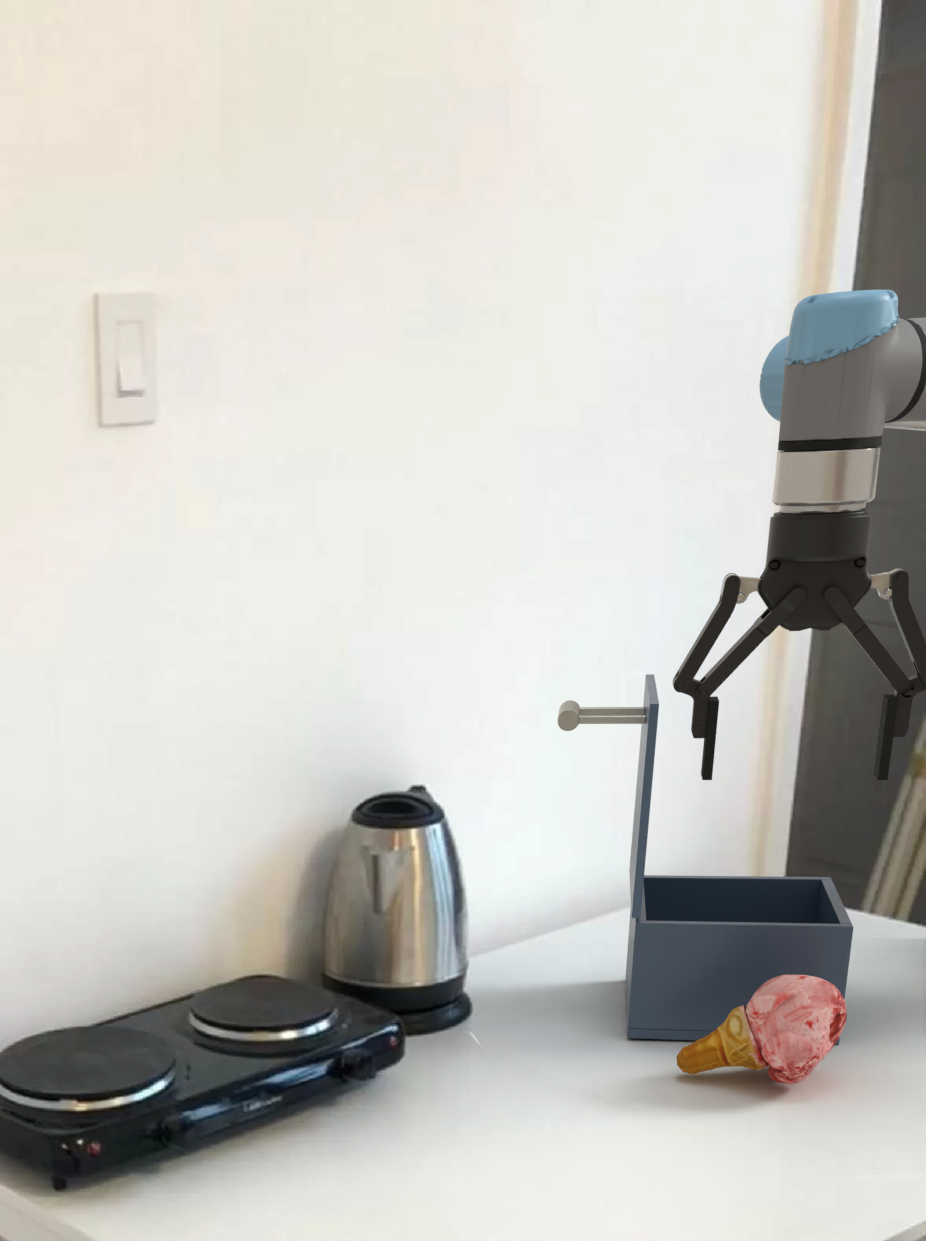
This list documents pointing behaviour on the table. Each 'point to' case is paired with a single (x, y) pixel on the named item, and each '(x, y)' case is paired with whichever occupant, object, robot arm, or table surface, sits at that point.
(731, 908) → the box
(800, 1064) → the ice cream
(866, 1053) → the table surface
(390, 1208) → the table surface
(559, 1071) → the table surface
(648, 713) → the freezer lid
